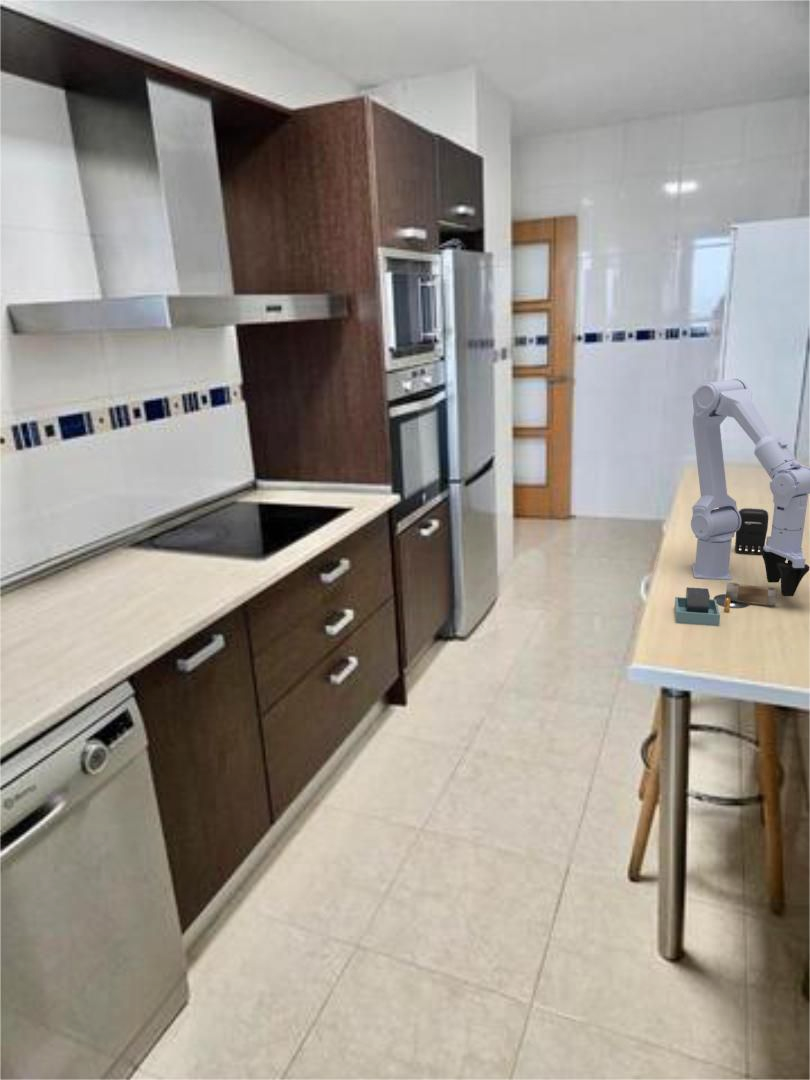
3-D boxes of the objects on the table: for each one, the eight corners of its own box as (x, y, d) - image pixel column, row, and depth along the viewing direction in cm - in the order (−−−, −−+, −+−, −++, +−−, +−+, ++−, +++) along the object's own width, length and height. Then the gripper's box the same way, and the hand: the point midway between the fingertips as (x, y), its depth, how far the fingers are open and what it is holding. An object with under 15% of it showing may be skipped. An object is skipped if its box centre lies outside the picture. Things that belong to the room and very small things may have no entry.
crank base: (711, 594, 150) (713, 581, 150) (747, 597, 148) (748, 584, 147) (716, 612, 142) (717, 598, 141) (754, 615, 140) (755, 601, 139)
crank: (725, 600, 146) (726, 585, 145) (726, 595, 148) (727, 581, 147) (775, 606, 141) (777, 591, 140) (775, 602, 143) (777, 587, 142)
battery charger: (733, 554, 173) (738, 510, 170) (733, 550, 177) (737, 506, 173) (765, 557, 171) (770, 512, 167) (764, 552, 174) (769, 508, 170)
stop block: (684, 610, 143) (686, 587, 141) (705, 611, 142) (707, 588, 140) (685, 617, 139) (687, 594, 138) (707, 619, 138) (709, 596, 136)
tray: (674, 607, 145) (675, 596, 144) (715, 610, 143) (716, 599, 142) (676, 622, 138) (676, 611, 137) (718, 626, 136) (720, 615, 135)
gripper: (754, 517, 149) (747, 576, 153) (781, 537, 135) (773, 602, 139) (789, 516, 148) (781, 576, 152) (819, 537, 134) (810, 602, 138)
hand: (780, 588), depth 146 cm, fingers open, 7 cm apart
